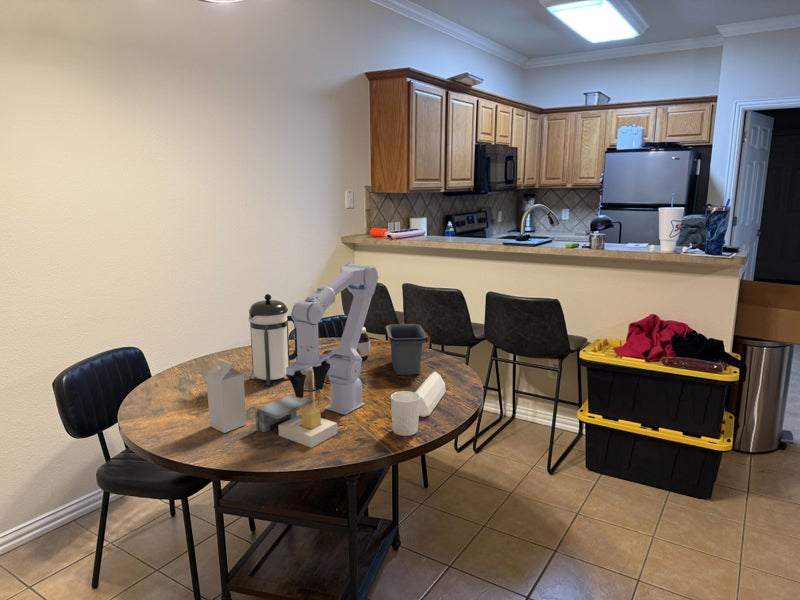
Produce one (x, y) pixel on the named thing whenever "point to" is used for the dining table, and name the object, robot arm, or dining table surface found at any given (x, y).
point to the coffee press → (270, 339)
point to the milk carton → (226, 397)
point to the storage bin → (406, 347)
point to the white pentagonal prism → (430, 393)
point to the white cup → (405, 412)
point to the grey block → (279, 411)
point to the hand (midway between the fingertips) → (309, 392)
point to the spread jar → (363, 345)
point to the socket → (307, 431)
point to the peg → (311, 418)
